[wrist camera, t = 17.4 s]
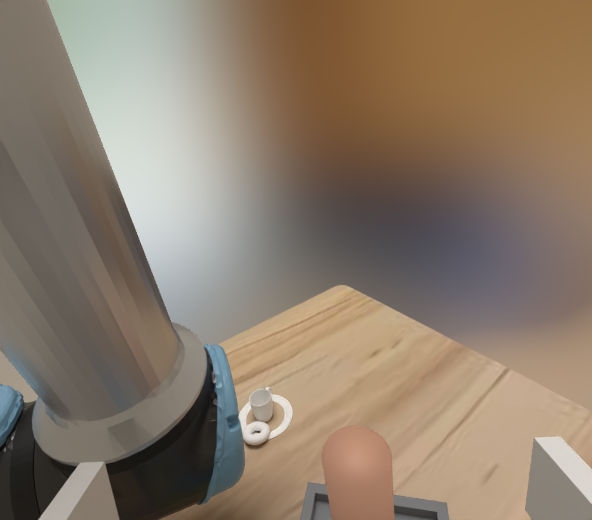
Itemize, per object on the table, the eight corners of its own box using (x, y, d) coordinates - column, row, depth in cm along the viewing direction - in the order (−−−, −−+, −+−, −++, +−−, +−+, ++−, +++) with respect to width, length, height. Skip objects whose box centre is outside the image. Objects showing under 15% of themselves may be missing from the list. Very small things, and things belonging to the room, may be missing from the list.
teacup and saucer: (259, 458, 45) (253, 436, 43) (222, 427, 50) (215, 406, 48) (304, 413, 50) (300, 391, 49) (267, 389, 56) (262, 369, 54)
